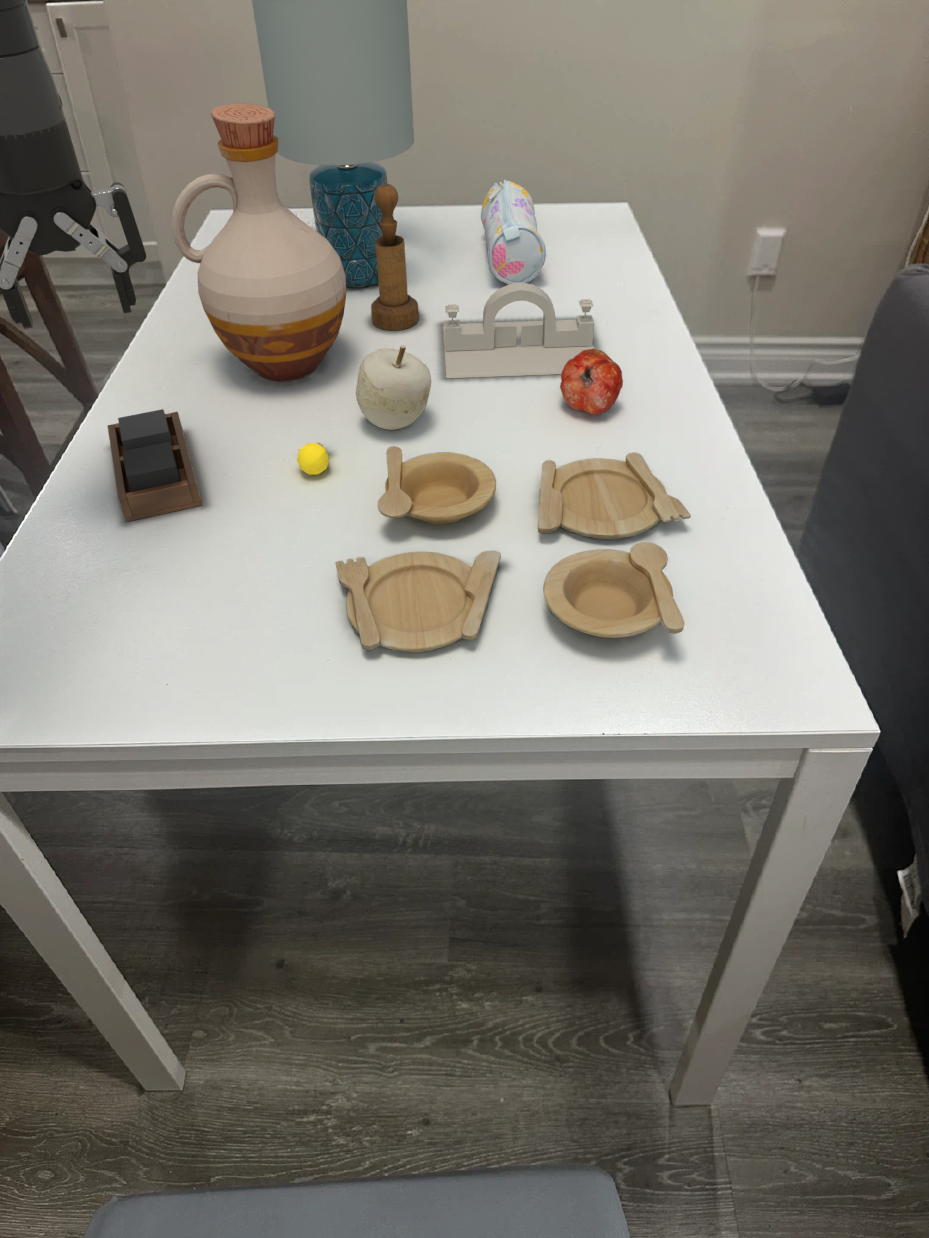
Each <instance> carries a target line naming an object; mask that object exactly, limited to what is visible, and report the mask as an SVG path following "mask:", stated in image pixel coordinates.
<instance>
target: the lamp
mask: <svg viewBox="0 0 929 1238" xmlns="http://www.w3.org/2000/svg"><path fill="white" fill-rule="evenodd" d="M251 3H252V11H253V18H254V23H255V30H256V35H257V42H258V48H259V57H260V62H261V69H262V75H263V82H264V88H265V94H266V101H267V108H270V109H271V110H273V111H274V113H275V121H274V131H273V135H274V136H276V137H277V138H278V152H277V153H276V154H278V155H279V156H280V157H283V158H284V159H287V160H290V161H293V162H295V163H302V164H306V165H315V167H314V168H313V169H311V171H310V172H309V176H308V177H309V179H308V180H309V190H310V196H311V198H310V199H311V204H312V205H311V206H312V213H313V220H314V226H315V230H316V231H317V232H318V233H319V234H320V235H322V236H323V237H324V238H325V239H327V241H328V242H329V243H330V244H331V246H332V247H333V248H334V250H335V251H336V253H337V254H338V255H339V257H340V260H341V263H342V266H343V269H344V273H345V276H346V288H365V287H369V286H374V285H377V284H379V280H378V267H377V255H376V245H375V241H376V239H377V238H379V237H381V236H383V234H382V231H381V228H380V221H381V220H382V212H381V210H380V209H379V207H378V205H377V204H376V201H375V191H376V189H377V188H378V187H379V186H380V185H382V184H389V183H388V174H387V170H386V168H385V167H384V166H383V165H381V164H380V163H377V162H379V161H383V160H387V159H390V158H391V159H392V158H394V157H396V156H399V155H402V154H403V153H405V152H406V151H408V150H409V149H410V148H412V146H413V145H414V144H415V143H414V142H415V131H414V112H413V96H412V95H413V93H412V92H413V90H412V74H411V57H410V56H411V54H410V31H409V13H408V0H251Z"/></svg>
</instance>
